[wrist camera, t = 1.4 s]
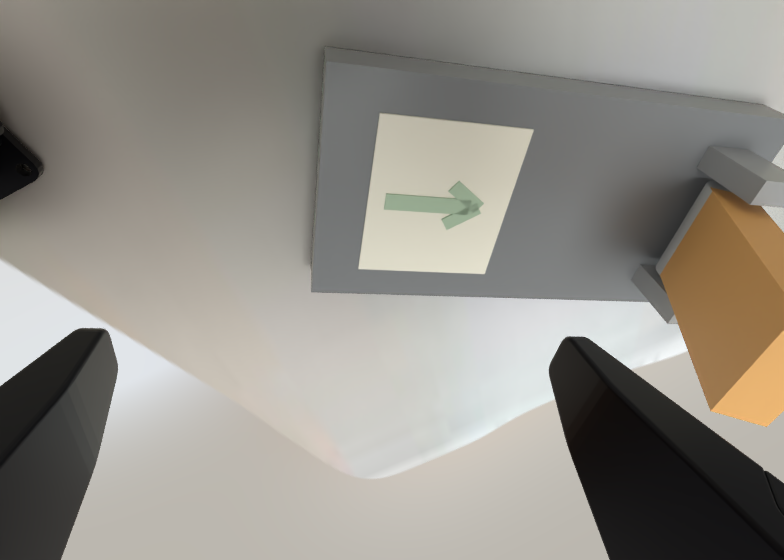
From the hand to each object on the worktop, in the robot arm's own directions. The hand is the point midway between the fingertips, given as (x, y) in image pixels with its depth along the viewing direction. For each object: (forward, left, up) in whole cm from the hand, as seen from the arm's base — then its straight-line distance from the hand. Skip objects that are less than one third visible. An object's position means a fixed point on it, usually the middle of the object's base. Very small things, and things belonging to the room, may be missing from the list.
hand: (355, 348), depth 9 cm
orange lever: (+12, -11, -10) cm, 20 cm away
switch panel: (+6, -8, -13) cm, 16 cm away
